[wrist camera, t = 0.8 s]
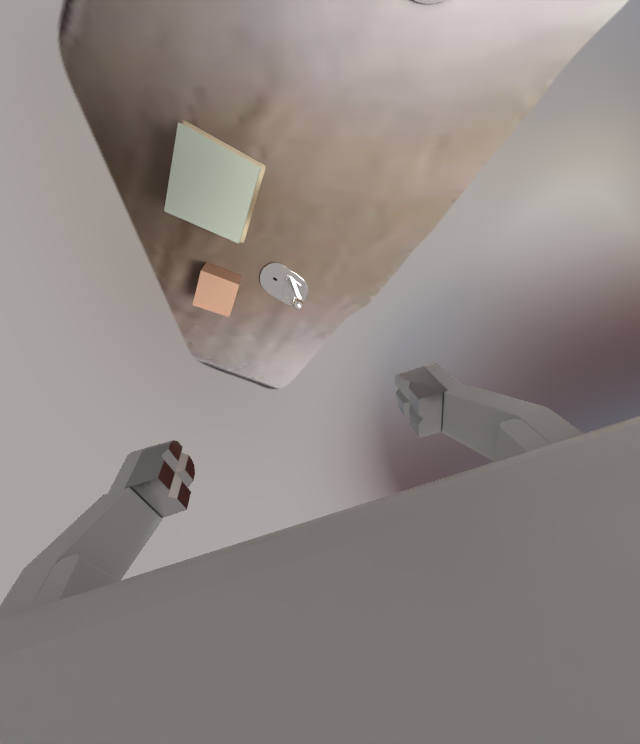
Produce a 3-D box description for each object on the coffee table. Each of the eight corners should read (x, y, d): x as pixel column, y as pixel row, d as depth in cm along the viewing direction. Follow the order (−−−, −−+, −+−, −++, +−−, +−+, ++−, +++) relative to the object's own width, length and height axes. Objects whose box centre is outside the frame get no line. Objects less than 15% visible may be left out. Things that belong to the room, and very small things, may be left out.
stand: (270, 255, 41) (313, 285, 44) (253, 283, 42) (296, 310, 46) (272, 266, 34) (322, 300, 38) (253, 299, 36) (302, 328, 40)
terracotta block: (206, 262, 40) (200, 270, 36) (241, 275, 41) (239, 284, 37) (199, 293, 42) (192, 305, 38) (232, 305, 44) (229, 317, 40)
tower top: (187, 129, 29) (178, 121, 26) (260, 170, 32) (260, 167, 29) (173, 209, 33) (164, 211, 29) (240, 238, 36) (238, 243, 32)
